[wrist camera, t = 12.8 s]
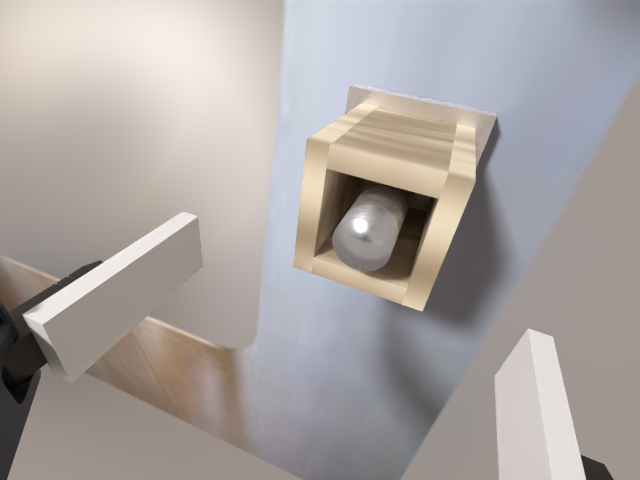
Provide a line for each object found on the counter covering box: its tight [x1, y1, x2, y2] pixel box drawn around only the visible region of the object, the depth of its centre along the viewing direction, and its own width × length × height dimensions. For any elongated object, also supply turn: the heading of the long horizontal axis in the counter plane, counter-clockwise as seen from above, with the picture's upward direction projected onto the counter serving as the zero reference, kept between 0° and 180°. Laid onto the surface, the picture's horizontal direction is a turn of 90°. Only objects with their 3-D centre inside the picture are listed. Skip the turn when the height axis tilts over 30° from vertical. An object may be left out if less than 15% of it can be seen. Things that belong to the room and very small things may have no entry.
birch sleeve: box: [293, 104, 476, 311], centre depth 22 cm, size 8×8×10 cm
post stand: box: [332, 83, 497, 271], centre depth 22 cm, size 10×10×13 cm
